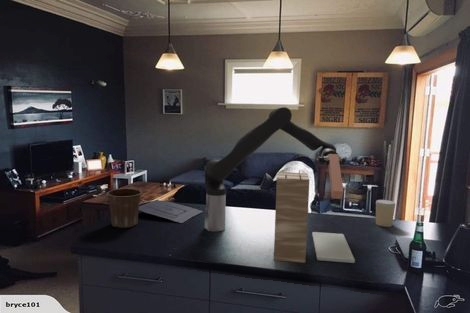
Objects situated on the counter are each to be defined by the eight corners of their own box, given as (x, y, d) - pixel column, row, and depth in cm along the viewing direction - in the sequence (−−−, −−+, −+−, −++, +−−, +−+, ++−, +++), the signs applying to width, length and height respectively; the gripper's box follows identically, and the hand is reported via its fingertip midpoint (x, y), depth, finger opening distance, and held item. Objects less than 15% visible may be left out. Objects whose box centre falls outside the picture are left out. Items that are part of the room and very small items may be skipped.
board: (354, 263, 140) (354, 260, 140) (317, 260, 142) (317, 257, 142) (343, 236, 169) (343, 234, 169) (312, 234, 171) (312, 231, 171)
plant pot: (146, 226, 177) (146, 193, 175) (113, 231, 168) (112, 197, 166) (135, 217, 191) (135, 187, 189) (103, 222, 182) (102, 190, 180)
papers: (157, 203, 216) (158, 197, 215) (203, 215, 205) (203, 209, 204) (131, 213, 193) (132, 207, 193) (181, 228, 183) (181, 221, 182)
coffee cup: (395, 223, 191) (396, 201, 189) (391, 228, 183) (393, 205, 181) (376, 220, 195) (377, 198, 194) (372, 225, 188) (374, 202, 186)
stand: (305, 262, 139) (309, 176, 135) (273, 260, 141) (276, 175, 136) (303, 248, 153) (307, 170, 149) (274, 246, 154) (277, 169, 150)
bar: (342, 198, 144) (343, 191, 142) (331, 198, 145) (332, 190, 142) (337, 161, 163) (338, 154, 161) (327, 160, 164) (328, 153, 161)
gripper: (314, 148, 174) (317, 153, 157) (345, 150, 172) (351, 154, 155) (314, 164, 175) (316, 170, 158) (344, 165, 173) (350, 171, 156)
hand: (334, 162), depth 157 cm, fingers closed on bar, 4 cm apart
